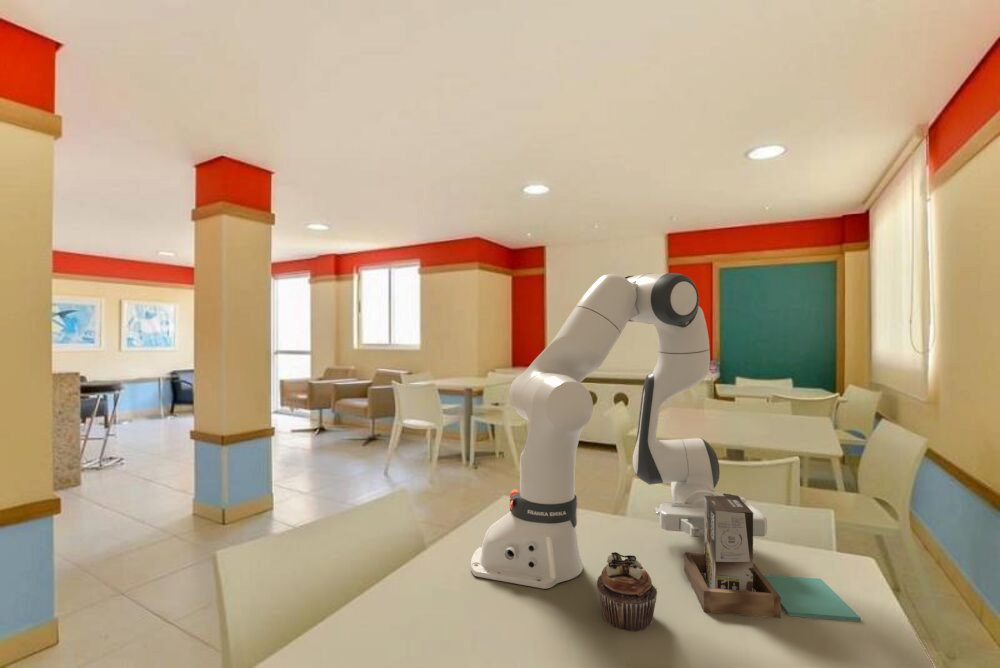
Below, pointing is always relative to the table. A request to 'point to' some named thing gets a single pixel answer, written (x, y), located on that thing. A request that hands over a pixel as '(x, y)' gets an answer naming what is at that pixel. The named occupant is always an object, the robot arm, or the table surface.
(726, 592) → the walnut bin
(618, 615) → the cupcake
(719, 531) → the coffee box
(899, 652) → the table surface
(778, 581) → the teal mat
